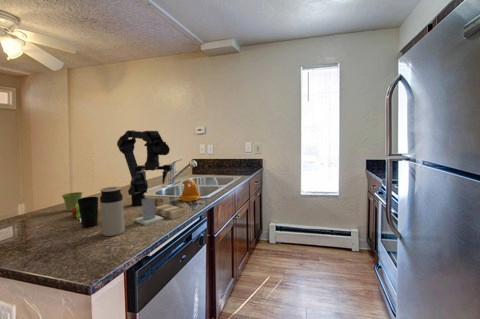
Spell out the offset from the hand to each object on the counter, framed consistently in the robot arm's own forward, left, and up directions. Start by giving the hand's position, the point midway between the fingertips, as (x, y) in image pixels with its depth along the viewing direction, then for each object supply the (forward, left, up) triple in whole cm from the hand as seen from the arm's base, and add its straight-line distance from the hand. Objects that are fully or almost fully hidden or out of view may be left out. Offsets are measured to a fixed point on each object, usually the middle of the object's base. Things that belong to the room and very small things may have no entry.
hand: (154, 184), depth 136 cm
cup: (-22, -24, -13) cm, 35 cm away
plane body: (+8, -10, -13) cm, 18 cm away
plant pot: (-44, +4, -13) cm, 46 cm away
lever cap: (+2, -20, -12) cm, 23 cm away
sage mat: (+2, -20, -13) cm, 24 cm away
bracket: (+16, +16, -13) cm, 26 cm away
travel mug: (-8, -34, -13) cm, 37 cm away
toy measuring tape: (-32, -12, -13) cm, 36 cm away
